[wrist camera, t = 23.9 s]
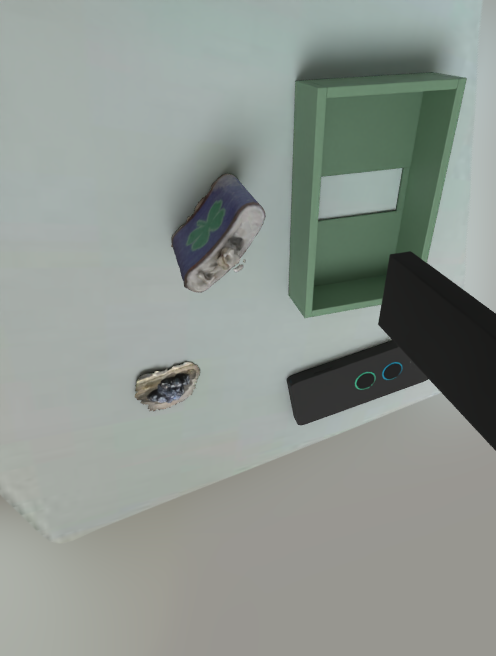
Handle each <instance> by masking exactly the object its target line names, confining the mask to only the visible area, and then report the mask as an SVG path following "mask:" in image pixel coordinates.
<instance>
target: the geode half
mask: <svg viewBox="0 0 496 656" xmlns="http://www.w3.org/2000/svg"><path fill="white" fill-rule="evenodd" d="M197 366H198V365H194V363H190V362H189V363H188V362H184V364H183V365H182V364H181V365H176V366H173V367H172V368H171V369H170V370H168V371H166V370H165V371H164V372H163V371H162V372H159V371H156V372H155V373H154V374H152V373H151V374H150V373H149V374H144V375H140V378H139V379H138V380H137V384H136V385H135V386H136V391H138V393H136V395H135V397H136V398H137V400H142V402H141V403H142V404H148V405H149V407H148V409H149V411H152V410H153V411H155V410H156V409H158V410H160V409H166V408H170V407H171V406H172V405H174V404H175V405H176V404H177V403H178V402H179V403H180V402H182V401H184V400H185V399H186V398H188V397H189V396H190V395H192V393H193V389H195V388H196V387H195V386H196V385H194V384H195V383H197V381H196V380H197V379H198V376H199V375H200V370H199V367H197ZM166 369H167V368H166ZM158 372H159V373H158Z"/></svg>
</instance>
